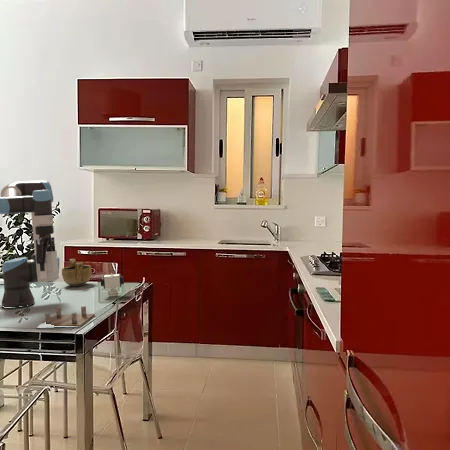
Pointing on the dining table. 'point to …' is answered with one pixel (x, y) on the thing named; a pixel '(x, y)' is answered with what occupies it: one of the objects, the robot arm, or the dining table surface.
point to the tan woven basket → (76, 273)
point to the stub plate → (68, 318)
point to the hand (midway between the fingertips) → (48, 276)
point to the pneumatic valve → (112, 283)
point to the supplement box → (49, 267)
